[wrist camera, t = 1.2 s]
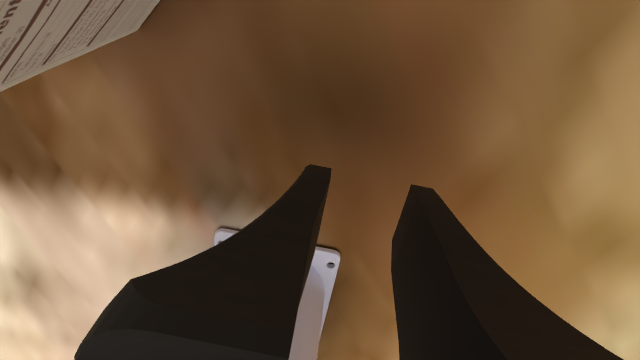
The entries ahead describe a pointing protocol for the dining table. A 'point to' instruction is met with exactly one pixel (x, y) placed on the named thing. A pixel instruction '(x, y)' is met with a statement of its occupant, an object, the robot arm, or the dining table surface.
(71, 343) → the dining table surface
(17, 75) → the supplement box
